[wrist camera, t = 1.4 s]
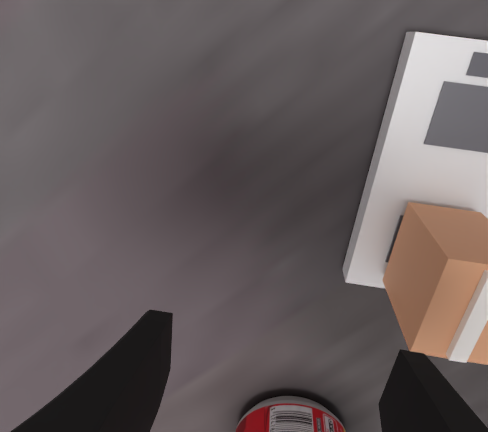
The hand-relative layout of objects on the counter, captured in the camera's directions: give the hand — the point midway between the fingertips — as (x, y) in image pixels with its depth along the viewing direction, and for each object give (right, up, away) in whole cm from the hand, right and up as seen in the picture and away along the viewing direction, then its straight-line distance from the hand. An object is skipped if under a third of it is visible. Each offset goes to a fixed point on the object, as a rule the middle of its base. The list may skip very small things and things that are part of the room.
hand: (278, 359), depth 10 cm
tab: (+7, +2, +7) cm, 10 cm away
